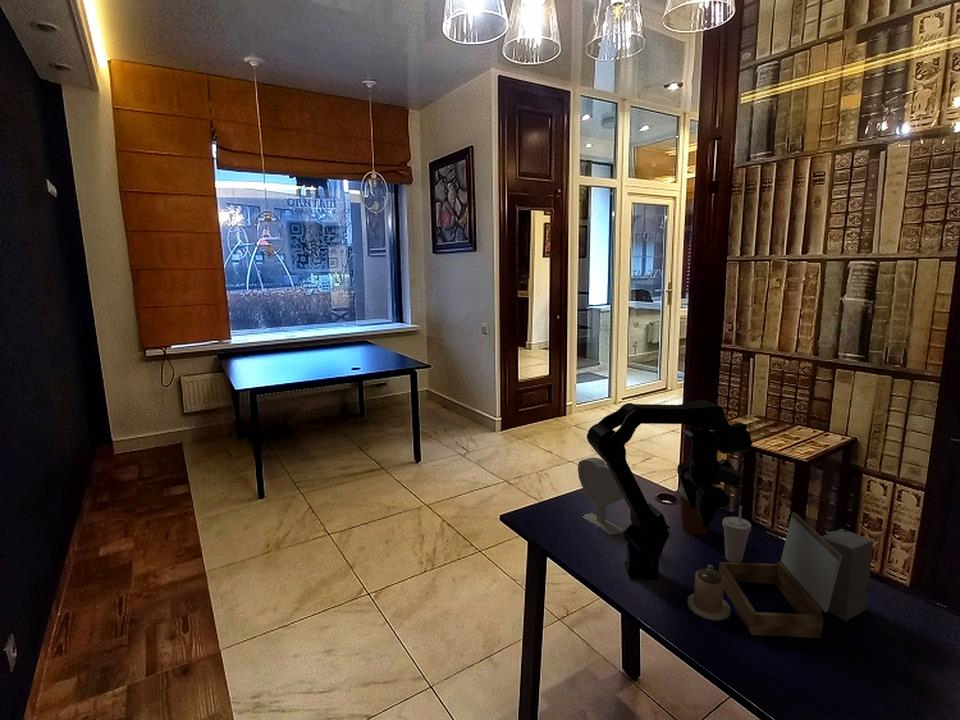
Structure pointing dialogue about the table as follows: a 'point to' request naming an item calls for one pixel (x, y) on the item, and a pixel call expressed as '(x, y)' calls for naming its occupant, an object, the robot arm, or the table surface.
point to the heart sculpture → (599, 491)
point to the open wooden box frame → (781, 623)
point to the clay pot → (709, 590)
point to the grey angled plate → (811, 561)
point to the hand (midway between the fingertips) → (699, 516)
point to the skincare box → (850, 573)
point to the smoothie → (735, 537)
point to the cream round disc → (710, 616)
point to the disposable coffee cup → (690, 516)
